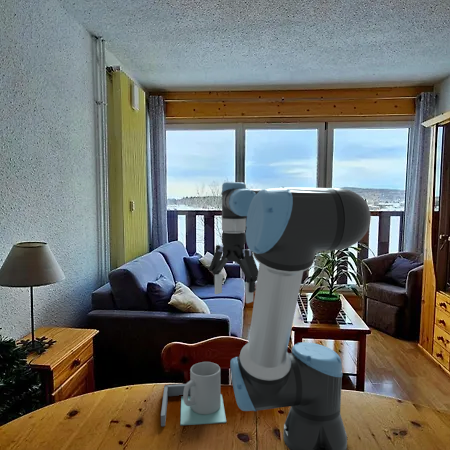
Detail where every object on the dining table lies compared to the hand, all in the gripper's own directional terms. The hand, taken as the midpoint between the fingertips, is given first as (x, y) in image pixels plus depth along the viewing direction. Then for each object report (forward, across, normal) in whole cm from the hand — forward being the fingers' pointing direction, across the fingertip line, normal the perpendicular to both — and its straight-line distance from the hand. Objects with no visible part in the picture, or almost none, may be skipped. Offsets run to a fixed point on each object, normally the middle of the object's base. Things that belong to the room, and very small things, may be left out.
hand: (233, 297), depth 118 cm
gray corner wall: (+27, -3, +21) cm, 34 cm away
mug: (+27, -6, +19) cm, 33 cm away
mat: (+27, -6, +19) cm, 33 cm away
